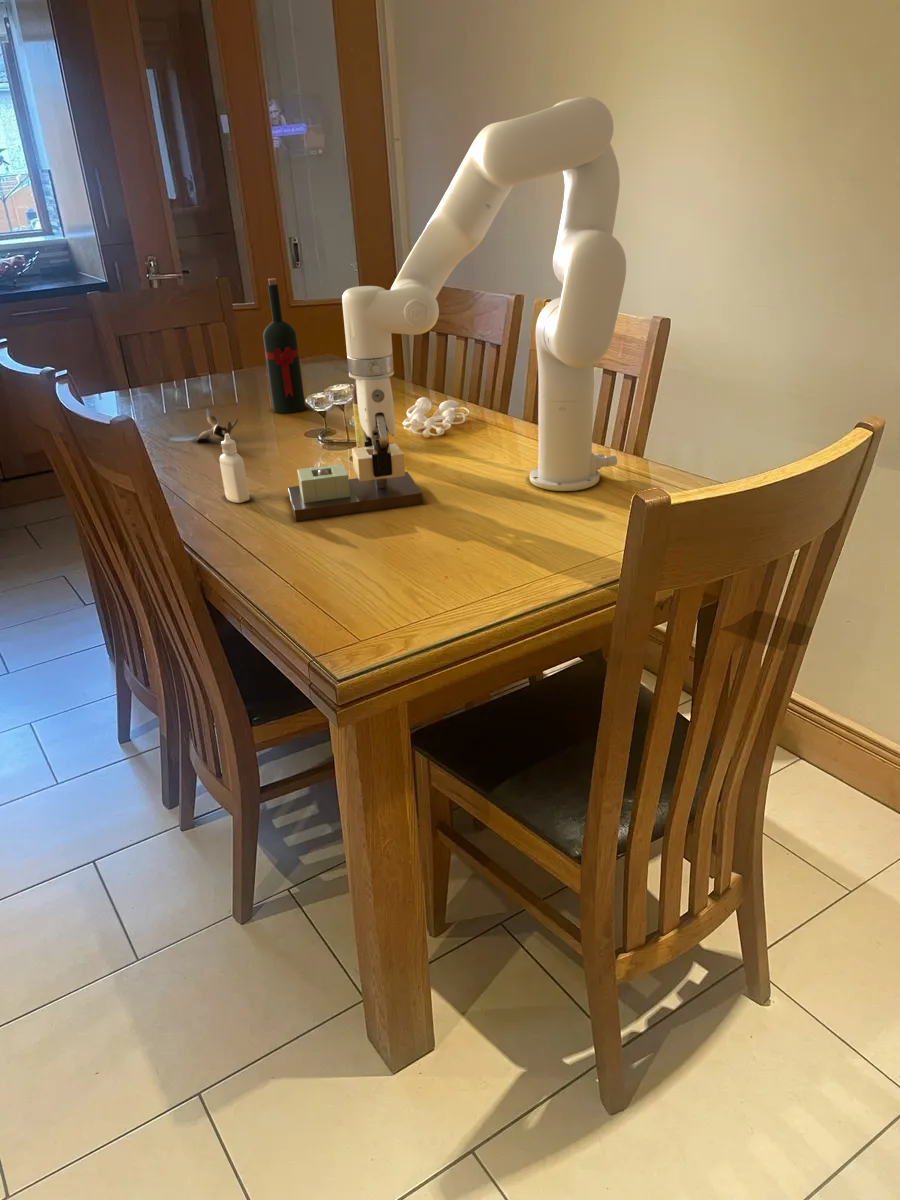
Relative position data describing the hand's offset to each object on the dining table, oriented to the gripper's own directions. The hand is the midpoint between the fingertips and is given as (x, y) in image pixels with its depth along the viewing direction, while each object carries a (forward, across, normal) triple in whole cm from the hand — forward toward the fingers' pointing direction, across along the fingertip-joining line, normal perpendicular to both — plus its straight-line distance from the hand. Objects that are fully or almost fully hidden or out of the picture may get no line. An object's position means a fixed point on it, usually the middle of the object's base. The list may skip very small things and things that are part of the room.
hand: (378, 468), depth 151 cm
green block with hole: (+3, 0, +10) cm, 10 cm away
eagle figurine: (+6, +48, +28) cm, 56 cm away
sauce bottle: (+6, +26, -3) cm, 27 cm away
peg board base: (+5, 0, +5) cm, 7 cm away
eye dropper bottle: (+6, +9, +25) cm, 27 cm away
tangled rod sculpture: (+5, +40, -20) cm, 45 cm away
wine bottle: (+6, +67, +10) cm, 68 cm away
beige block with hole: (+1, 0, 0) cm, 1 cm away
